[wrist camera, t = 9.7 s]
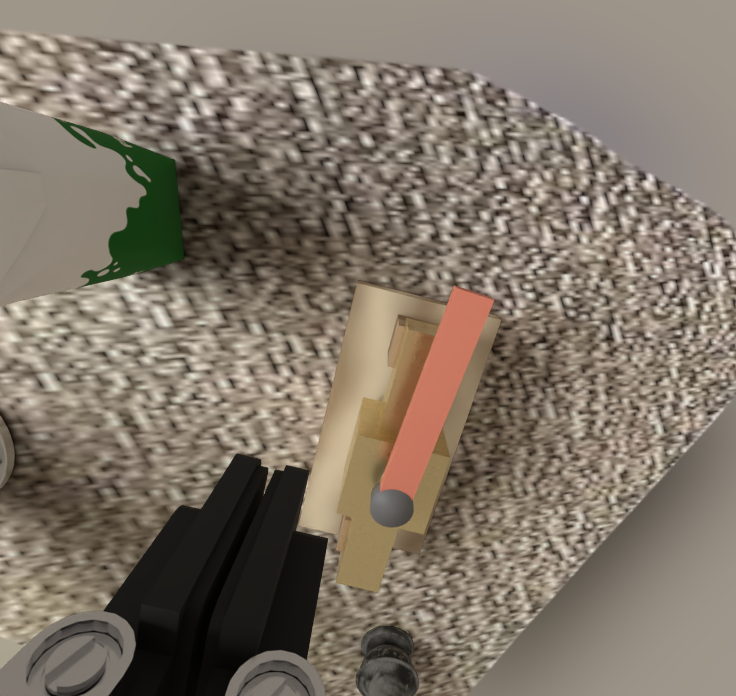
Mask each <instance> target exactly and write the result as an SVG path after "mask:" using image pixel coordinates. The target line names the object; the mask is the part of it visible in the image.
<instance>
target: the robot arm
mask: <svg viewBox="0 0 736 696" xmlns="http://www.w3.org/2000/svg"><path fill="white" fill-rule="evenodd" d="M14 457H15V453H14V446H13V441H12V438H11V435H10V432H9V430H8V428H7V426H6V424H5V423H4V421H3V419H2V417H1V416H0V489H1V488H2V487H3V486H4V485H5V484H6V482H7V481H8V479H9V477H10V476H11V473H12V470H13V467H14ZM267 475H268V468H267V467H263V466H261V459H258V458H254V457H249V456H245V455H241V454H236V455H235V457H234V458H233V460H232V461H231V463H230V465H229V466H228V468H227V469H226V471H225V472H224V474H223V476H222V477H221V479H220V480H219V482H218V484H217V485H216V487H215V488H214V490H213V491H212V493H211V495H210V496H209V498H208V499H207V501H206V502H205V504H204V506H203V507H202V509H197V508H193V507H188V506H184V505H182V506H180V507H178V509H177V510H176V511H175V512H174V514H173V515H172V516H171V518H170V519H169V521H168V522H167V523H166V525H165V526H164V527H163V529H162V530H161V532H160V533H159V534H158V536H157V537H156V539H155V540H154V541H153V543H152V544H151V546H150V547H149V548H148V550H147V551H146V553H145V554H144V555H143V557H142V558H141V559H140V561H139V562H138V564H137V565H136V566H135V568H134V569H133V571H132V572H131V573H130V575H129V576H128V578H127V579H126V580H125V582H124V583H123V584H122V586H121V587H120V589H119V590H118V591H117V593H116V594H115V596H114V597H113V598H112V600H111V601H110V603H109V604H108V605H107V607H106V608H105V610H104V611H89V612H82V613H78V614H75V615H71V616H68V617H65V618H63V619H61V620H59V621H57V622H55V623H53V624H51V625H49V626H48V627H46V628H45V629H44V630H43V631H41V632H40V633H39V634H38V635H36V636H35V637H34V638H32V639H31V640H30V641H29V642H28V643H27V644H26V645H25V646H24V647H23V648H22V649H21V650H20V651H19V652H18V653H17V654H16V655H15V656H14V657H13V658H12V659H11V660H10V661H9V662H8V663H7V664H5V666H3V667H2V668H1V669H0V696H326V694H325V688H324V684H323V682H322V680H321V678H320V676H319V674H318V672H317V671H316V670H315V668H314V667H313V666H312V665H311V664H310V663H309V662H308V661H307V655H308V649H309V644H310V638H311V633H312V627H313V621H314V616H315V610H316V605H317V599H318V593H319V588H320V582H321V577H322V571H323V565H324V560H325V554H326V549H327V543H328V538H324V537H320V536H315V535H311V534H307V533H302V532H298V531H296V528H297V524H298V519H299V515H300V511H301V506H302V502H303V498H304V493H305V489H306V485H307V480H308V476H309V470H305V469H301V468H296V467H292V466H288V465H286V467H285V469H284V471H280V470H275V471H274V473H273V475H272V478H271V480H270V482H269V485H268V487H267V489H266V491H265V494H264V490H265V485H266V480H267ZM263 495H264V496H263Z"/></svg>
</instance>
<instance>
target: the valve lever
mask: <svg viewBox="0 0 736 696" xmlns="http://www.w3.org/2000/svg"><path fill="white" fill-rule="evenodd" d="M493 302H494V300H493V299H492V298H491V297H489V296H486V295H483V294H479V293H476V292H473V291H470V290H467V289H464V288H461V287H458V286H455V285H454V287H453V290H452V293H451V295H450V298H449V301H448V303H447V306H446V309H445V311H444V314H443V317H442V319H441V322H440V325H439V327H438V330H437V333H436V335H435V338H434V341H433V343H432V346H431V349H430V351H429V354H428V357H427V359H426V362H425V365H424V367H423V370H422V373H421V375H420V378H419V381H418V383H417V386H416V389H415V391H414V394H413V397H412V399H411V402H410V405H409V407H408V410H407V413H406V415H405V418H404V421H403V423H402V426H401V429H400V431H399V434H398V437H397V439H396V442H395V445H394V447H393V450H392V453H391V455H390V458H389V461H388V463H387V466H386V469H385V471H384V474H383V477H382V479H381V481H380V482H378V483H377V484H376V485H375V486H374V487H373V489H372V492H371V499H370V513H371V516H372V517H373V519H374V520H375V521H376V522H377V523H379V524H380V525H382V526H385V527H390V528H394V527H399V526H402V525H404V524H406V523H407V522H408V521H409V520H410V519H411V517H412V515H413V512H414V506H413V499H414V496H415V494H416V491H417V489H418V486H419V484H420V481H421V479H422V476H423V474H424V472H425V469H426V467H427V464H428V462H429V459H430V457H431V454H432V452H433V449H434V447H435V445H436V442H437V440H438V437H439V435H440V432H441V430H442V427H443V425H444V422H445V420H446V418H447V415H448V413H449V410H450V408H451V405H452V403H453V400H454V398H455V395H456V393H457V391H458V388H459V386H460V383H461V381H462V378H463V376H464V373H465V371H466V368H467V366H468V364H469V361H470V359H471V356H472V354H473V351H474V349H475V346H476V344H477V341H478V339H479V337H480V334H481V332H482V329H483V327H484V324H485V322H486V319H487V317H488V314H489V312H490V310H491V307H492V305H493Z"/></svg>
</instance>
